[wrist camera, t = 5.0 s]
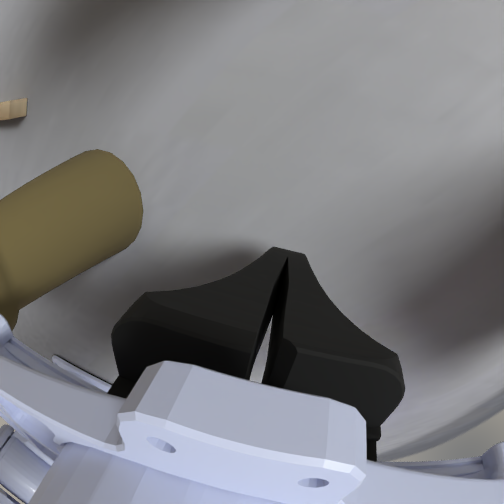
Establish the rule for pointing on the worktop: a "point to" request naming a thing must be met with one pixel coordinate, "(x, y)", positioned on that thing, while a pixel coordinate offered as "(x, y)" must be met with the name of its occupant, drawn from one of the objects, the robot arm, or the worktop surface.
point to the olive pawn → (64, 226)
